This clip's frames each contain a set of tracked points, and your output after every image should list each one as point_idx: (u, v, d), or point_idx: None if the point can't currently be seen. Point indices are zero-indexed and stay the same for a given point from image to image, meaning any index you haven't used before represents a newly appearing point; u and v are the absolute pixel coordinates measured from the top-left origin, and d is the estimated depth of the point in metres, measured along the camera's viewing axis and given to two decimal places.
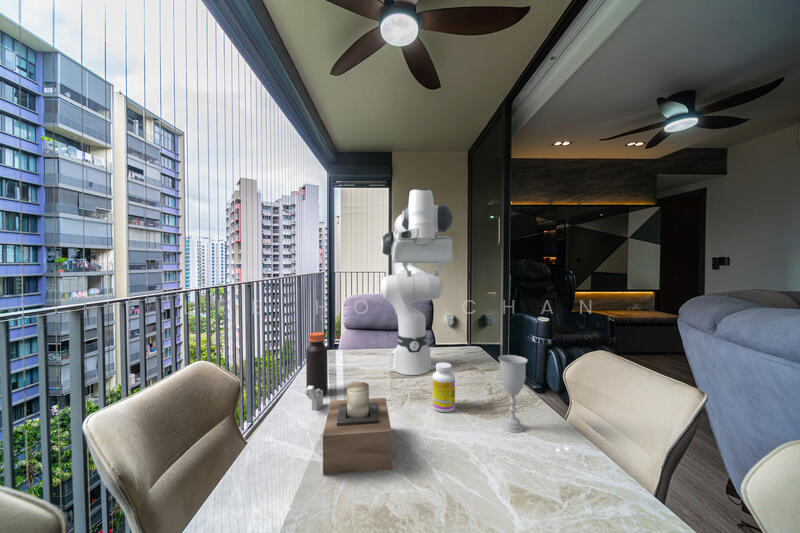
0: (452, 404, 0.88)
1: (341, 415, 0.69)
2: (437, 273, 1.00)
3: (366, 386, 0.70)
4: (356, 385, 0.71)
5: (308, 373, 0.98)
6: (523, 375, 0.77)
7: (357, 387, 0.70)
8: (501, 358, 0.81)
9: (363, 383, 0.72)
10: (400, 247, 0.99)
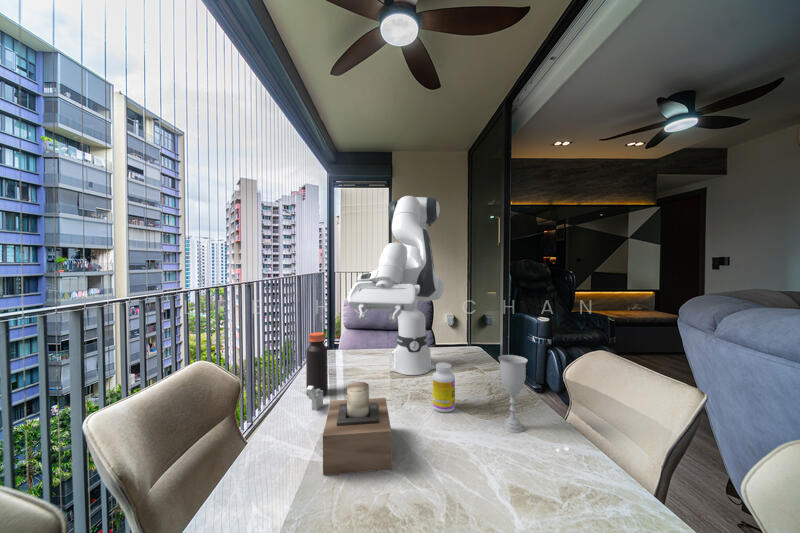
0: (452, 404, 0.88)
1: (341, 415, 0.69)
2: (391, 316, 0.81)
3: (366, 386, 0.70)
4: (356, 385, 0.71)
5: (308, 373, 0.98)
6: (523, 375, 0.77)
7: (357, 387, 0.70)
8: (501, 358, 0.81)
9: (363, 383, 0.72)
10: (358, 289, 0.89)
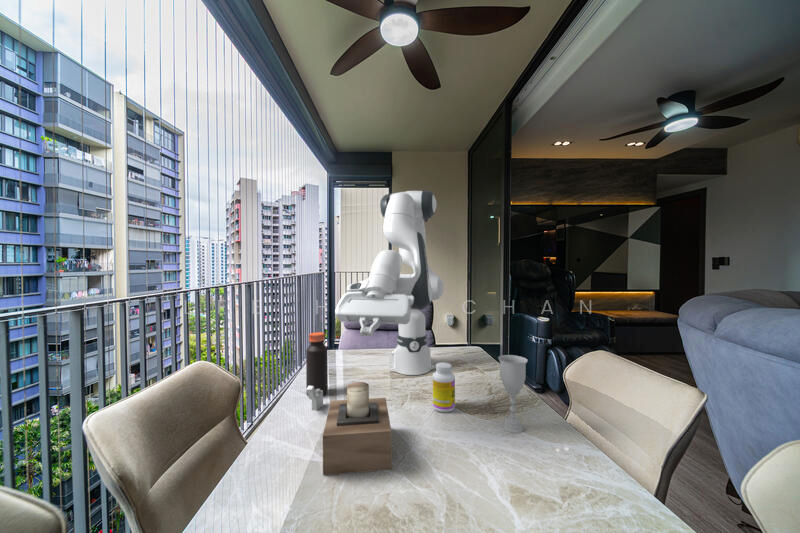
0: (452, 404, 0.88)
1: (341, 415, 0.69)
2: (368, 329, 0.75)
3: (366, 386, 0.70)
4: (356, 385, 0.71)
5: (308, 373, 0.98)
6: (523, 375, 0.77)
7: (357, 387, 0.70)
8: (501, 358, 0.81)
9: (363, 383, 0.72)
10: (347, 300, 0.82)
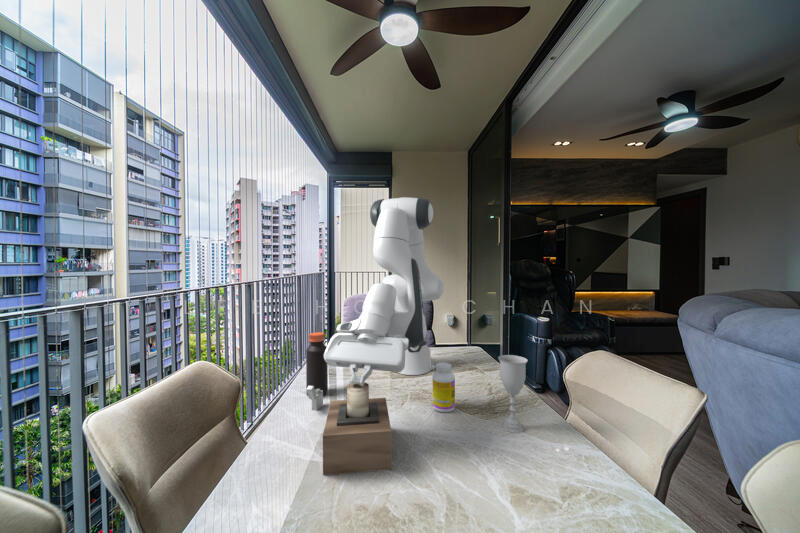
0: (452, 404, 0.88)
1: (341, 415, 0.69)
2: (359, 379, 0.69)
3: (366, 386, 0.70)
4: None
5: (308, 373, 0.98)
6: (523, 375, 0.77)
7: (357, 387, 0.70)
8: (501, 358, 0.81)
9: None
10: (337, 342, 0.76)
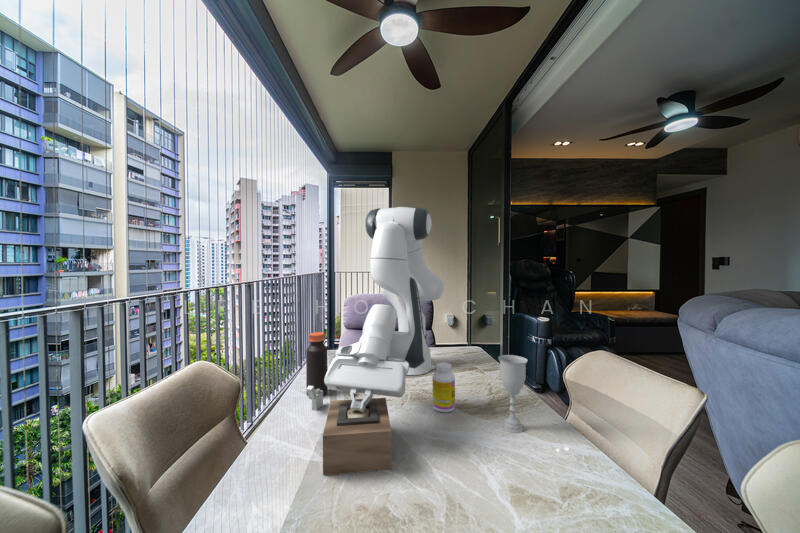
0: (452, 404, 0.88)
1: (341, 415, 0.69)
2: (360, 405, 0.69)
3: (366, 412, 0.70)
4: None
5: (308, 373, 0.98)
6: (523, 375, 0.77)
7: (357, 413, 0.70)
8: (501, 358, 0.81)
9: None
10: (337, 366, 0.77)
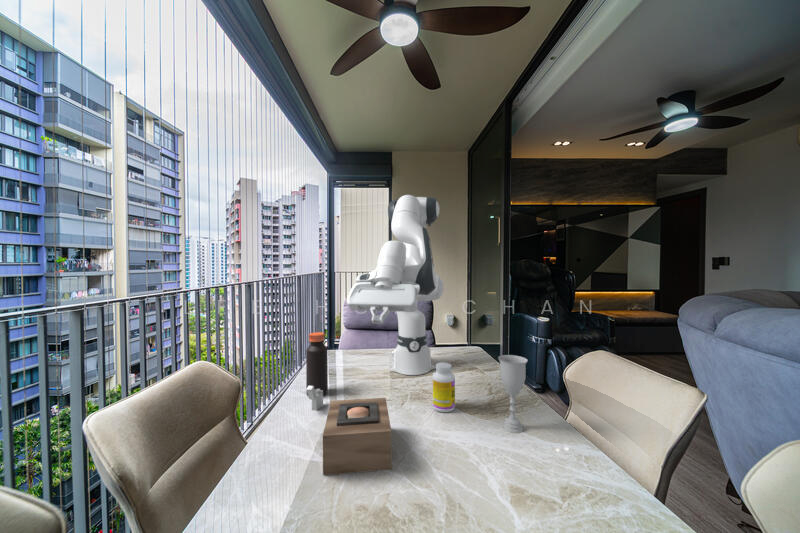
0: (452, 404, 0.88)
1: (341, 415, 0.69)
2: (379, 318, 0.81)
3: (366, 412, 0.70)
4: (357, 411, 0.71)
5: (308, 373, 0.98)
6: (523, 375, 0.77)
7: (357, 413, 0.70)
8: (501, 358, 0.81)
9: (363, 408, 0.72)
10: (357, 290, 0.88)
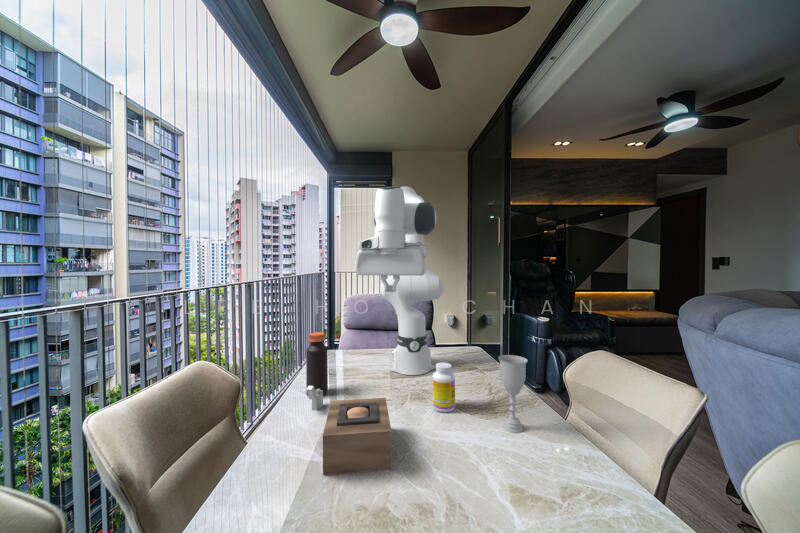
0: (452, 404, 0.88)
1: (341, 415, 0.69)
2: (392, 288, 0.85)
3: (366, 412, 0.70)
4: (357, 411, 0.71)
5: (308, 373, 0.98)
6: (523, 375, 0.77)
7: (357, 413, 0.70)
8: (501, 358, 0.81)
9: (363, 408, 0.72)
10: (363, 258, 0.86)
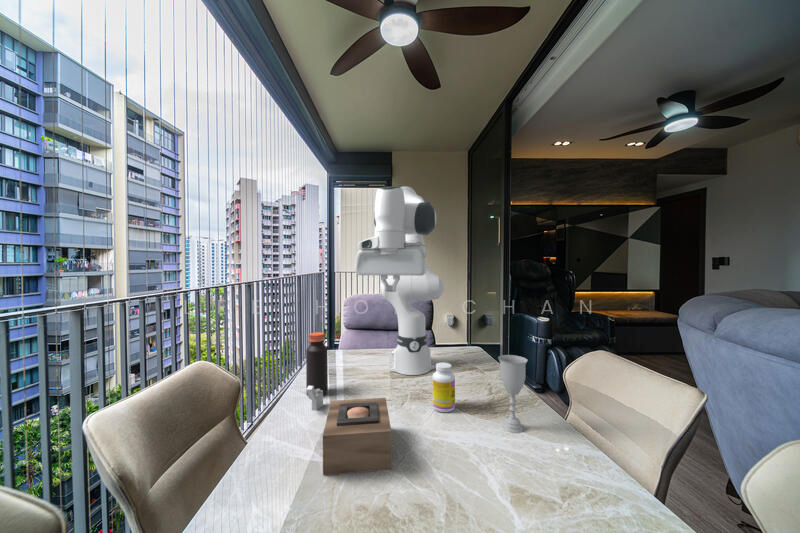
0: (452, 404, 0.88)
1: (341, 415, 0.69)
2: (392, 288, 0.85)
3: (366, 412, 0.70)
4: (357, 411, 0.71)
5: (308, 373, 0.98)
6: (523, 375, 0.77)
7: (357, 413, 0.70)
8: (501, 358, 0.81)
9: (363, 408, 0.72)
10: (363, 258, 0.86)
